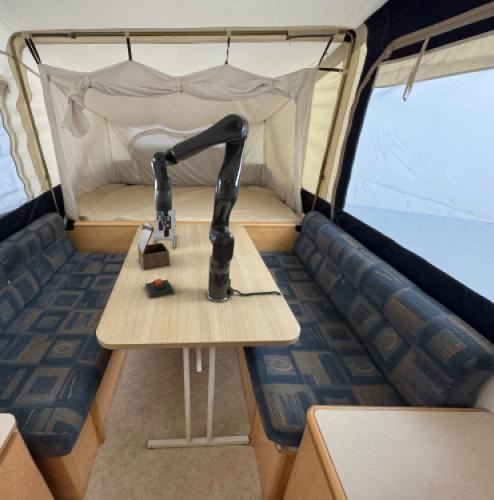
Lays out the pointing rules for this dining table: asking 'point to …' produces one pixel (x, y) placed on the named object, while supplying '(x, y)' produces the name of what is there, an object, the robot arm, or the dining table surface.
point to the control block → (158, 289)
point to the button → (158, 282)
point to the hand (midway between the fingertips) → (163, 233)
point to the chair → (160, 234)
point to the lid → (145, 236)
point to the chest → (154, 256)
